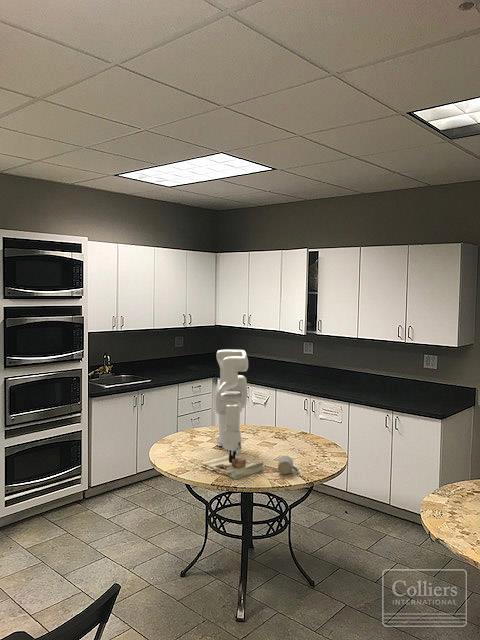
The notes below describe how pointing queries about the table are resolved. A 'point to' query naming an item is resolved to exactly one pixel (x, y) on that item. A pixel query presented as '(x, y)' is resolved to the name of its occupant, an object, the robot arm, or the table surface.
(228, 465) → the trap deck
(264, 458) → the table surface
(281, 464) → the ceramic mug
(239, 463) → the walnut block
